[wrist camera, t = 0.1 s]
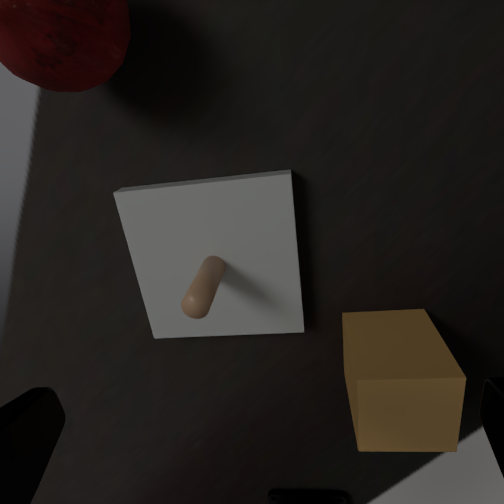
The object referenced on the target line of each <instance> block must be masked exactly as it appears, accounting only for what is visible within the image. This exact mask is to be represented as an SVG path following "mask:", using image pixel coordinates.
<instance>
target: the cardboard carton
mask: <svg viewBox="0 0 504 504" xmlns="http://www.w3.org/2000/svg"><path fill="white" fill-rule="evenodd" d="M342 320H343V349H344V374H345V380H346V385H347V391H348V396H349V402H350V407H351V413H352V418H353V424H354V429H355V434H356V440H357V445H358V451H403V452H456V451H457V444H458V436H459V429H460V421H461V414H462V406H463V399H464V391H465V384H466V377H465V375H464V373H463V372H462V370H461V368H460V367H459V365H458V363H457V362H456V360H455V359H454V357H453V355H452V354H451V352H450V350H449V349H448V347H447V346H446V344H445V342H444V341H443V339H442V337H441V336H440V334H439V332H438V331H437V329H436V328H435V326H434V324H433V323H432V321H431V319H430V318H429V316H428V314H427V313H426V311H425V310H424V309H412V310H391V311H371V312H350V313H342Z"/></svg>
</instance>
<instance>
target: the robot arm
mask: <svg viewBox="0 0 504 504" xmlns="http://www.w3.org/2000/svg"><path fill="white" fill-rule="evenodd" d="M480 418H481V422H482V425H483V427H484V430H485V432H486V435H487V437H488V440H489V442H490V445H491V447H492V450H493V452H494V455H495V457H496V460H497V462H498V465H499V467H500V470H501V472H502V474H503V477H504V377H494V378H487V379H486V380H485V382H484V385H483V391H482V398H481V404H480ZM64 423H65V413H64V410H63V408H62V406H61V403H60V401H59V399H58V396H57V394H56V392H55V390H54V389H52V388H50V387H36V388H32V389H30V390H28V391H27V392H25V393H23V394H22V395H20V396H19V397H17V398H15V399H14V400H12V401H10V402H9V403H7V404H5V405H4V406H2V407H0V504H30V503H31V501H32V499H33V497H34V495H35V492H36V490H37V488H38V486H39V483H40V481H41V479H42V476H43V474H44V472H45V469H46V467H47V464H48V462H49V460H50V457H51V455H52V453H53V450H54V448H55V446H56V443H57V441H58V438H59V436H60V434H61V431H62V429H63V427H64ZM268 502H269V504H347V501H346V495H345V493H343V492H340V491H300V490H270V491H269V492H268Z"/></svg>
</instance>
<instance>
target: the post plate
mask: <svg viewBox="0 0 504 504" xmlns="http://www.w3.org/2000/svg"><path fill="white" fill-rule="evenodd" d="M113 194H114V197H115V201H116V204H117V208H118V211H119V215H120V218H121V222H122V226H123V229H124V233H125V236H126V240H127V243H128V247H129V250H130V254H131V258H132V261H133V265H134V268H135V272H136V275H137V279H138V282H139V286H140V289H141V293H142V297H143V300H144V304H145V307H146V311H147V314H148V318H149V321H150V325H151V328H152V332H153V336H154V338H175V337H199V336H223V335H247V334H272V333H296V332H304V318H303V306H302V294H301V282H300V271H299V259H298V247H297V235H296V223H295V212H294V200H293V188H292V176H291V170H282V171H273V172H264V173H255V174H245V175H236V176H227V177H218V178H208V179H199V180H190V181H181V182H172V183H162V184H153V185H144V186H135V187H125V188H121V189H119V190H118V191H116V192H114V193H113Z"/></svg>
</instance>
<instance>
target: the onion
mask: <svg viewBox="0 0 504 504" xmlns="http://www.w3.org/2000/svg"><path fill="white" fill-rule="evenodd" d="M130 38H131V30H130V19H129V9H128V2H127V0H0V62H1V63H2V64H3V65H4V66H5V67H6V68H7V69H8V70H9V71H11V72H12V73H13V74H14V75H16V76H18V77H19V78H21V79H23V80H26V81H28V82H30V83H33V84H35V85H37V86H40V87H42V88H44V89H47V90H51V91H57V92H81V91H84V90H88V89H90V88H93V87H95V86H97V85H100V84H102V83H104V82H107V81H108V80H109V79H110V78H111V76H112V75H113V74H114V73H115V72H116V71H117V69H118V68H119V67H120V66H121V65H122V64H123V61H124V58H125V54H126V51H127V48H128V45H129V41H130Z"/></svg>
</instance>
